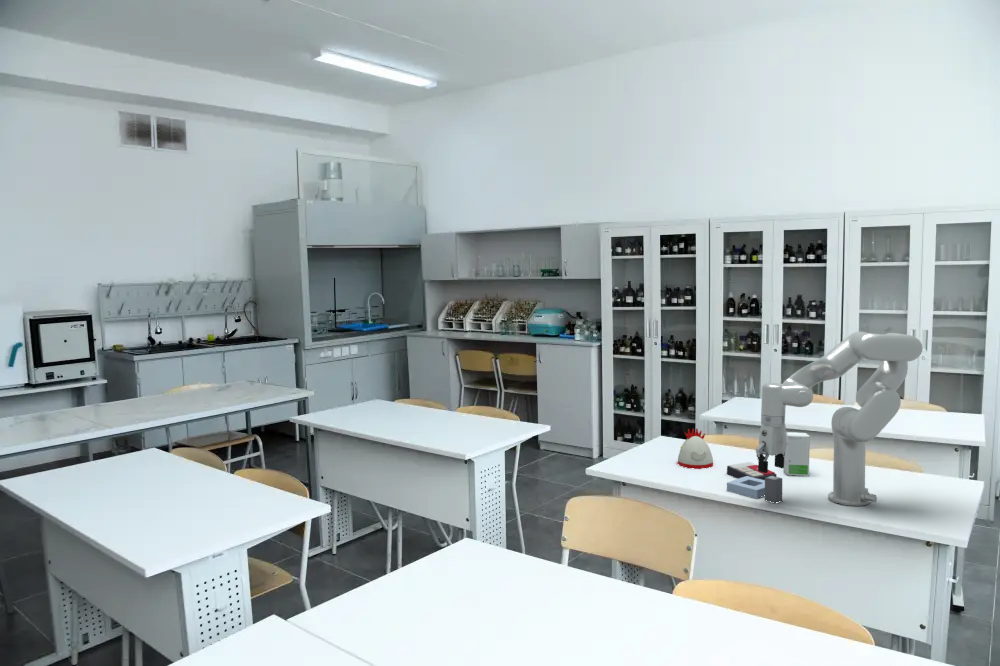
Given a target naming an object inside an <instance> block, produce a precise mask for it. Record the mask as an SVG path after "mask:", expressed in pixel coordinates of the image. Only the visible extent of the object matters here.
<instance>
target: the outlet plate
mask: <svg viewBox="0 0 1000 666" xmlns="http://www.w3.org/2000/svg"><path fill="white" fill-rule="evenodd" d="M726 491H727V492H730V493H734V494H738V495H741V496H744V497H745V496H746V497H748V496H750V498H752V497H754V498H753V499H756V498H758V499H760V498H762V497H761V496H763V497H765V496H764V495H765V480H761V479H757V478H753V477H749V476H745V477H742V478H739V479H738V478H736V479H733V480H730V481H727V482H726ZM759 497H760V498H759Z"/></svg>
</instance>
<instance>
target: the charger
mask: <svg viewBox="0 0 1000 666" xmlns="http://www.w3.org/2000/svg"><path fill="white" fill-rule="evenodd" d="M765 500H767V501H771V502H774V503H776V502H779V501H782V502H783V478H782V477H779V476H777V477H775V476H769V477H766V478H765V496H764V501H765ZM767 501H766V502H767ZM774 503H773V504H774ZM779 503H780V502H779Z"/></svg>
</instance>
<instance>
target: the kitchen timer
mask: <svg viewBox="0 0 1000 666" xmlns="http://www.w3.org/2000/svg"><path fill="white" fill-rule="evenodd" d="M698 430H699V429H698V428H696V429H695V428H692V430H690V429H689V428H688V429H687V433H686V432H684V435H685V437H686V440H684V441H683V444H682V445H681V446H680V450H679V453H678V457H677V465H678V464H679V465H680V467H681V466H683V468H685V467H687V468H686V469H690V468H694V469H693V470H703V469H702V468H706V469H710V468H712V467H713V466H714V459H713V454H712V451H711V449H710V447H709V445H708V443H707V442H706V441H705V440H704V438H705V436H706V433H703V434H702V432H703V431H702V430H700V431H698ZM679 465H678V466H679ZM709 467H710V468H709Z"/></svg>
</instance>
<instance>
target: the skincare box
mask: <svg viewBox="0 0 1000 666" xmlns="http://www.w3.org/2000/svg"><path fill="white" fill-rule="evenodd" d="M786 433H787V442H788V444H787V450H786V452H785V457H784V456H783V457H784V468H782V471H783V472H784V473H785V475H787V476H792V475H796V477H799V476H800V477H809V476H810V453H811V452H810V446H811V443H810V441H811V436H810V435H809V434H808V433H806V432H796V431H795V432H790V431H789V432H788V431H786Z"/></svg>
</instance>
